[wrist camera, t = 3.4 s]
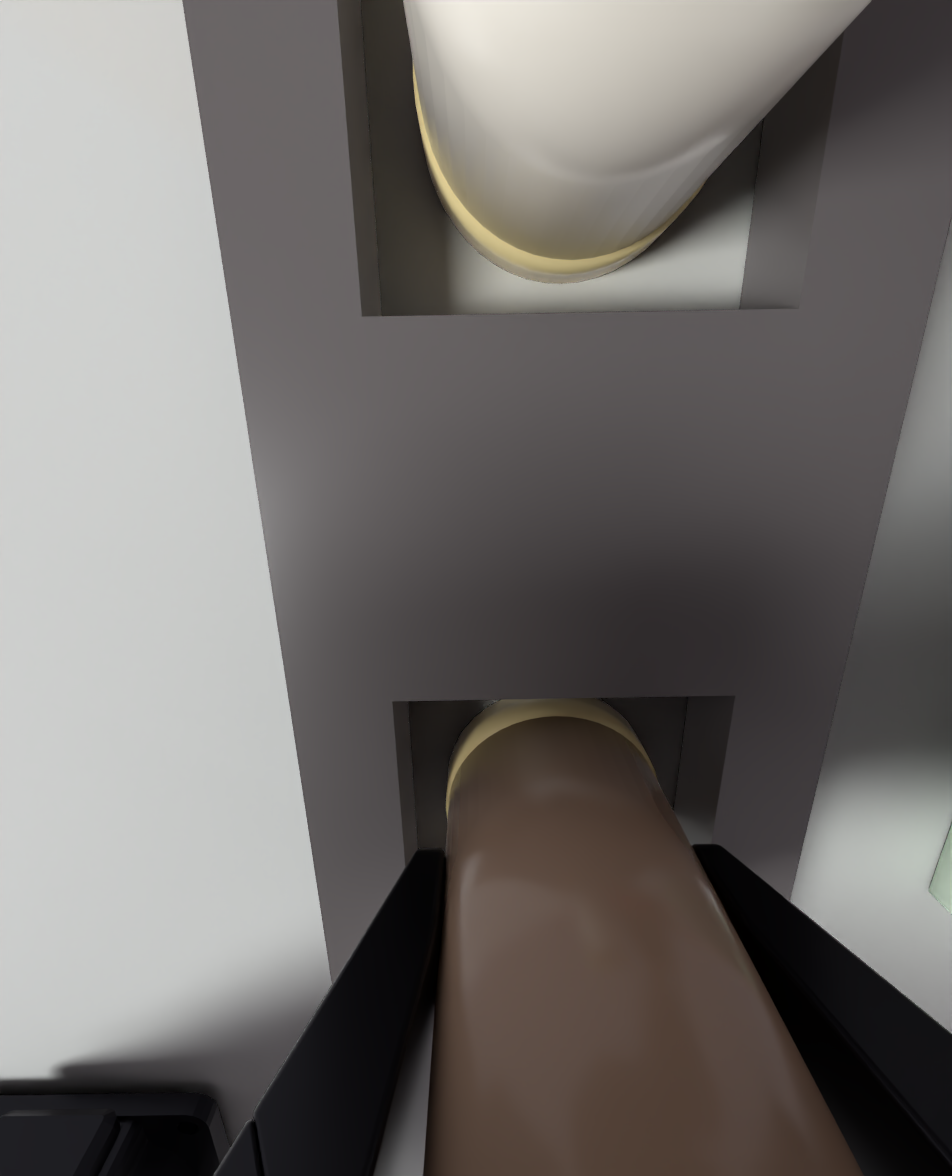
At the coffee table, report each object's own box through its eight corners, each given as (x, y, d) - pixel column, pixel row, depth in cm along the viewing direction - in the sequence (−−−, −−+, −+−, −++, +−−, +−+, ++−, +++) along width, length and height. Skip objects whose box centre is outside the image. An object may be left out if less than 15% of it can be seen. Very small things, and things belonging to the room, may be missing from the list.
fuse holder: (728, 930, 10) (765, 1003, 9) (353, 936, 10) (336, 1009, 9) (979, -387, 5) (1165, -689, 4) (187, -370, 5) (81, -663, 4)
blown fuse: (636, 850, 10) (964, 1707, 3) (451, 853, 10) (403, 1714, 3) (653, 686, 9) (1218, 1494, 2) (444, 690, 9) (349, 1506, 2)
